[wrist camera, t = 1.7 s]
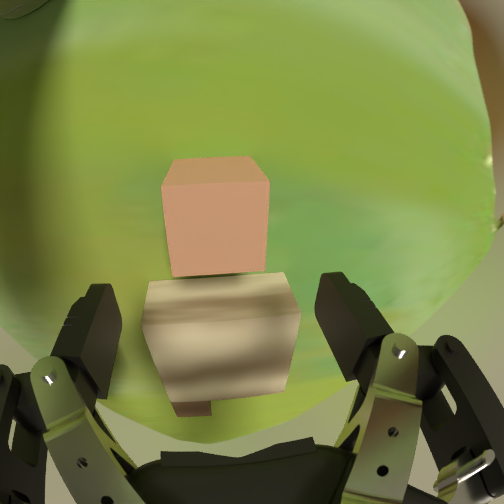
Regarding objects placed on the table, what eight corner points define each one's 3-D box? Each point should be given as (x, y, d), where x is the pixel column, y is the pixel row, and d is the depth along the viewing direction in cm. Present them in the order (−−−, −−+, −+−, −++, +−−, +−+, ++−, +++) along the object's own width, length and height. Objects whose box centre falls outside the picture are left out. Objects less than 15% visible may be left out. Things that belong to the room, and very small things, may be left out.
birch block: (149, 281, 21) (140, 325, 17) (283, 271, 23) (301, 312, 19) (171, 362, 27) (171, 402, 23) (273, 354, 29) (284, 391, 24)
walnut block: (170, 371, 28) (170, 401, 25) (205, 370, 29) (208, 400, 25) (177, 389, 30) (177, 416, 27) (209, 387, 31) (211, 415, 27)
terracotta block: (174, 159, 17) (161, 186, 12) (249, 156, 18) (269, 181, 13) (179, 227, 19) (172, 276, 14) (248, 223, 20) (264, 270, 15)
